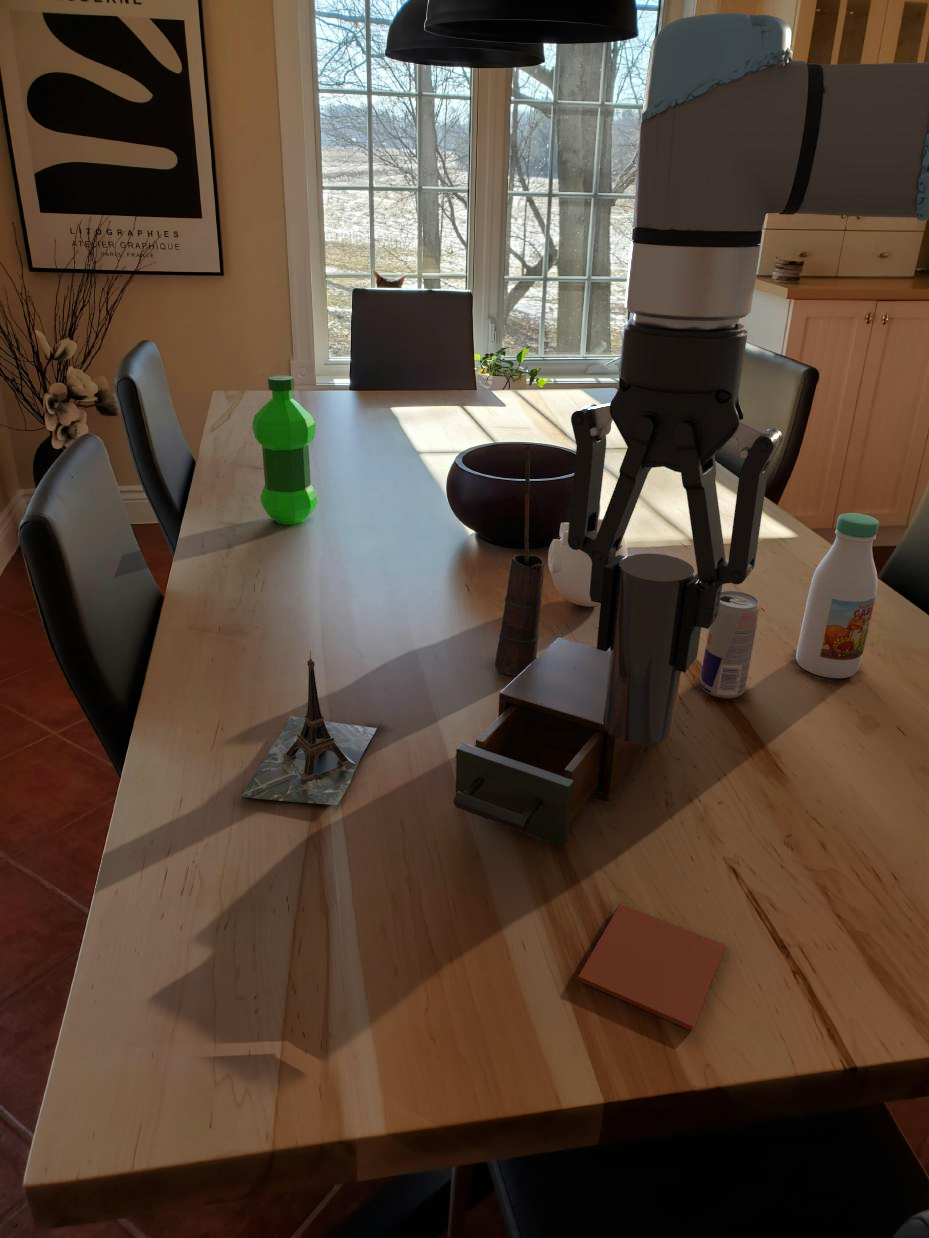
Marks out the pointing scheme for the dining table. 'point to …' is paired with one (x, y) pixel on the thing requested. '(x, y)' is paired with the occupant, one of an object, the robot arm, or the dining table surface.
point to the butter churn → (521, 603)
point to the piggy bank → (573, 568)
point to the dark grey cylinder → (645, 647)
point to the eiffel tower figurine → (310, 757)
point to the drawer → (530, 772)
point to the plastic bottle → (285, 454)
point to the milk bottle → (840, 601)
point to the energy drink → (730, 645)
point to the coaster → (653, 965)
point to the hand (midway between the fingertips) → (646, 652)
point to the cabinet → (573, 700)
